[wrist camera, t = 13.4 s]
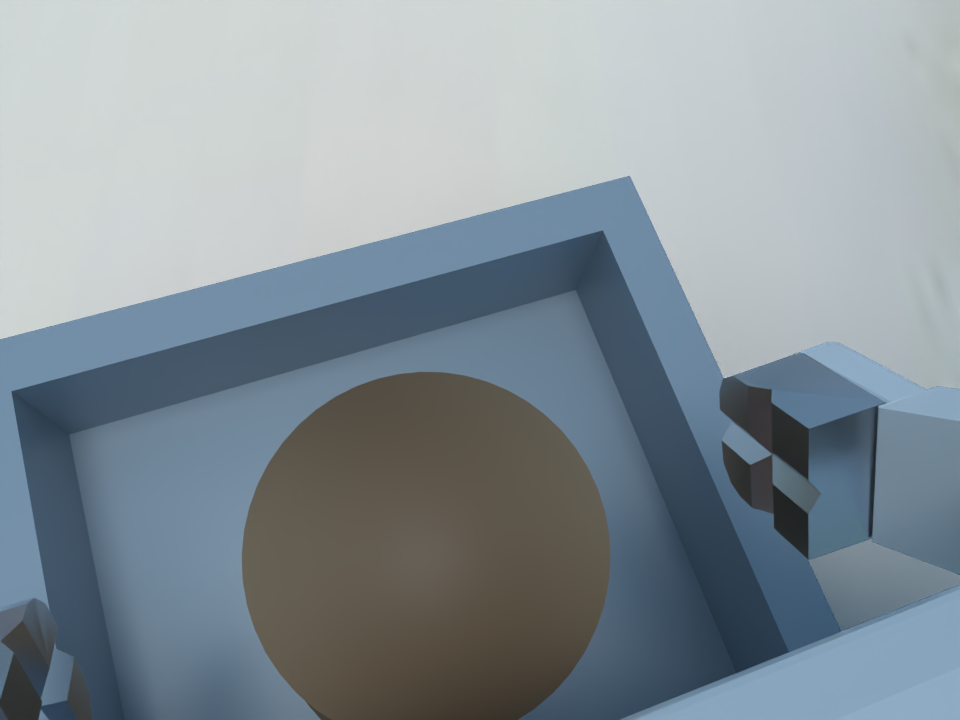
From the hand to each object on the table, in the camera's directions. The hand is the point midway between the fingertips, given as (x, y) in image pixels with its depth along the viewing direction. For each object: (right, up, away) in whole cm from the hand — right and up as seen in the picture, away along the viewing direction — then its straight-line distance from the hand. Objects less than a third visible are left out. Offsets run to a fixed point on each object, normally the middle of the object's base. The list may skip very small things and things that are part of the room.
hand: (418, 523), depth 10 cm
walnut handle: (-1, -3, +6) cm, 7 cm away
